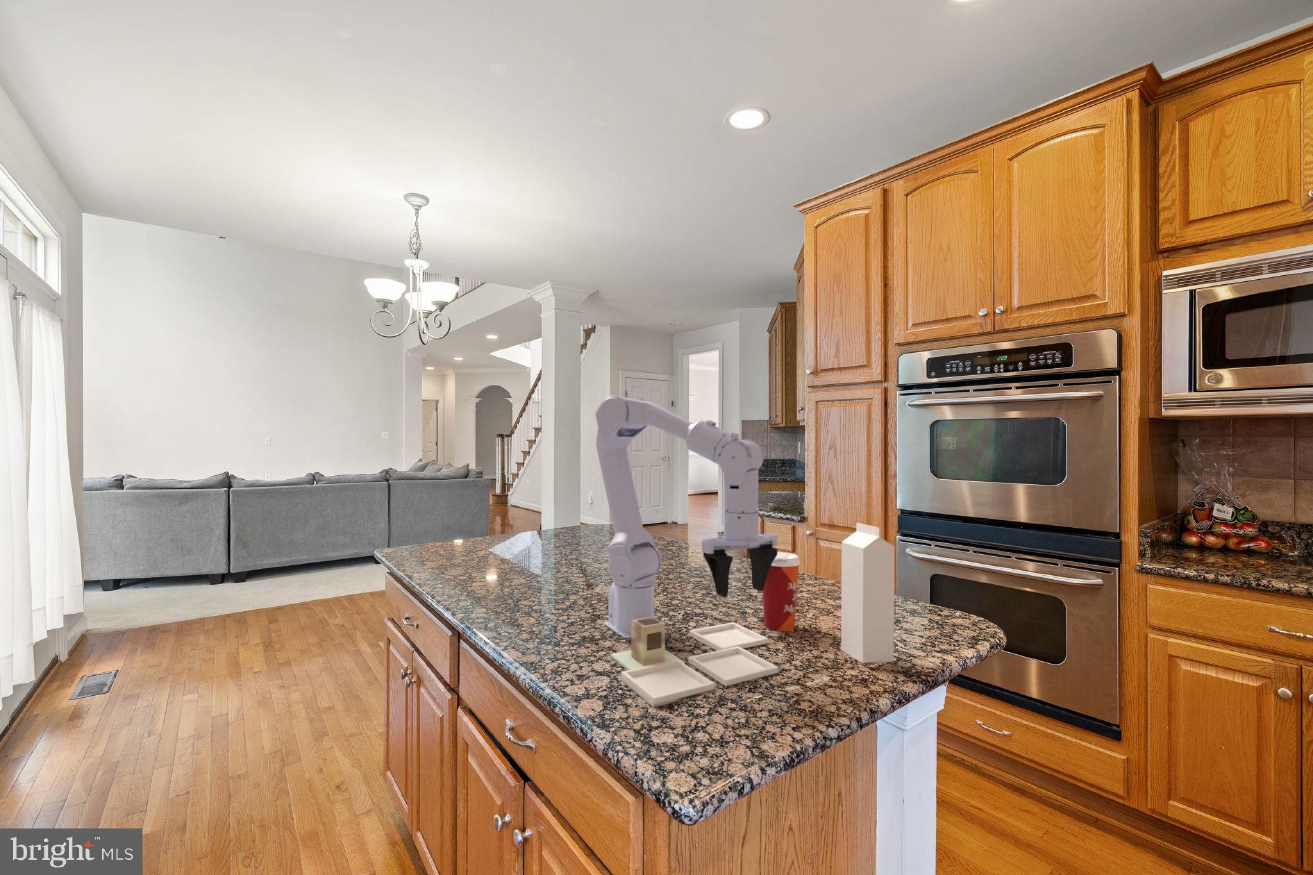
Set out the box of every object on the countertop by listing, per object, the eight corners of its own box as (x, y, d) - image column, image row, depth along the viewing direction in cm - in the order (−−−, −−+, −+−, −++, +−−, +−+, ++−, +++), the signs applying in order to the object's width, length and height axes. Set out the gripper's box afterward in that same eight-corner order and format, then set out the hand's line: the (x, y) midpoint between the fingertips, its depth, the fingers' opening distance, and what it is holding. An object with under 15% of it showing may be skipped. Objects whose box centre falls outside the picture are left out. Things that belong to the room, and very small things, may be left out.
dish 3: (688, 664, 91) (688, 657, 91) (738, 653, 96) (738, 646, 96) (725, 688, 82) (725, 680, 82) (778, 674, 87) (778, 667, 87)
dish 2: (689, 637, 103) (689, 630, 103) (733, 628, 108) (733, 622, 108) (721, 655, 95) (721, 648, 95) (768, 645, 100) (768, 638, 100)
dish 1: (620, 679, 85) (620, 671, 85) (677, 666, 90) (677, 659, 90) (653, 707, 76) (653, 698, 76) (714, 691, 81) (714, 683, 81)
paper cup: (801, 636, 104) (801, 560, 104) (758, 633, 106) (759, 558, 106) (799, 623, 112) (799, 552, 112) (759, 620, 114) (760, 550, 114)
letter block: (631, 656, 93) (631, 619, 93) (652, 652, 95) (652, 616, 95) (643, 665, 89) (643, 626, 89) (665, 660, 91) (665, 623, 91)
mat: (610, 656, 94) (610, 654, 94) (657, 647, 98) (657, 644, 98) (635, 676, 86) (635, 673, 86) (685, 665, 91) (685, 662, 91)
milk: (862, 666, 91) (863, 528, 91) (840, 652, 97) (840, 523, 97) (894, 661, 93) (895, 526, 93) (870, 648, 99) (871, 521, 99)
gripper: (720, 516, 88) (719, 604, 88) (790, 511, 96) (789, 592, 96) (694, 511, 95) (694, 593, 95) (762, 507, 102) (761, 583, 102)
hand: (740, 592), depth 95 cm, fingers open, 7 cm apart
